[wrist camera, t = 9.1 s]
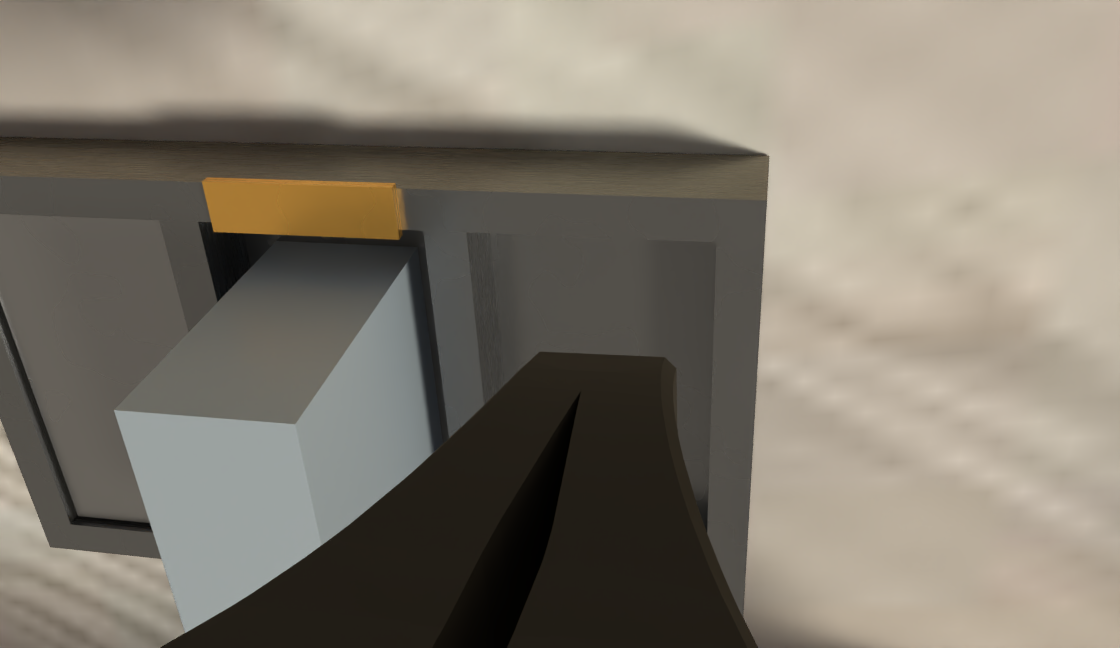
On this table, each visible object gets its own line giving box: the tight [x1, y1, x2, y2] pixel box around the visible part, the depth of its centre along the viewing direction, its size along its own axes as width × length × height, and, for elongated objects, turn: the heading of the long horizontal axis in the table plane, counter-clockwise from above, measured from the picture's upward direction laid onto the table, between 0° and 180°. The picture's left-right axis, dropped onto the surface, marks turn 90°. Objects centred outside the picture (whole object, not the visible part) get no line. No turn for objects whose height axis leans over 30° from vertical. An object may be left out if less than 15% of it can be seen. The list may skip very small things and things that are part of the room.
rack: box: [0, 137, 769, 616], centre depth 22 cm, size 10×16×2 cm, turn 93°
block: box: [114, 241, 443, 633], centre depth 20 cm, size 6×3×6 cm, turn 3°
